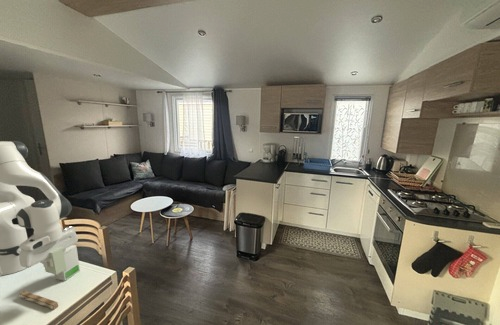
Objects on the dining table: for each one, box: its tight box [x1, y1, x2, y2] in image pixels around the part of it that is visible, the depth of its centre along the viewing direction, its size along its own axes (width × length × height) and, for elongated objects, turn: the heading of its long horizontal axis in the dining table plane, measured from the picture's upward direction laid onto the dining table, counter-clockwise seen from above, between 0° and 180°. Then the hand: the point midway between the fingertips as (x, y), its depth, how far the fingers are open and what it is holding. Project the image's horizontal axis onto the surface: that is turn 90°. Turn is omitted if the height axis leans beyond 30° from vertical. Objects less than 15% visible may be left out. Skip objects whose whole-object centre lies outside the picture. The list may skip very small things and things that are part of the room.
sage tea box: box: [44, 248, 66, 276], centre depth 93 cm, size 7×4×11 cm, turn 75°
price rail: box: [19, 290, 59, 311], centre depth 92 cm, size 22×2×2 cm, turn 75°
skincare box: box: [54, 244, 81, 282], centre depth 107 cm, size 8×7×16 cm
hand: (54, 262), depth 93 cm, fingers closed on sage tea box, 4 cm apart
